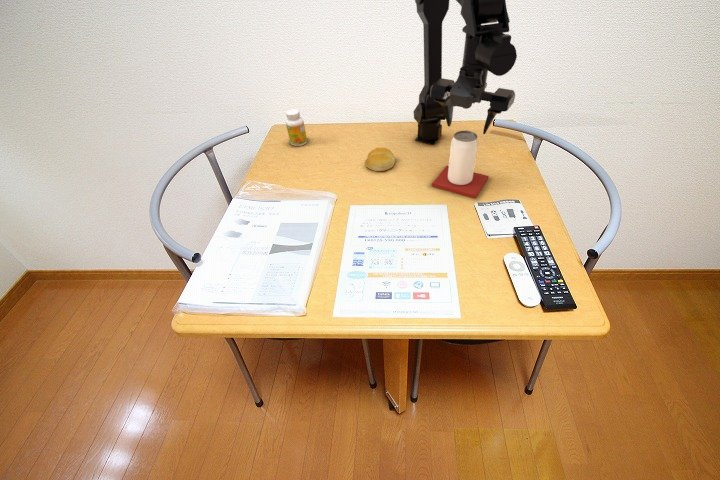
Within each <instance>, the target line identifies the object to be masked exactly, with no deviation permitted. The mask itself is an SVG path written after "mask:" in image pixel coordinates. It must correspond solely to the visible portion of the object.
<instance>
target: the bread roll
mask: <svg viewBox="0 0 720 480" xmlns="http://www.w3.org/2000/svg"><path fill="white" fill-rule="evenodd" d="M395 163H396V156H395V154H394V152H393V151H392V150H390V149H388V148H387V147H376V148H374V149H371V151H369V152H368V154H367V157H366V159H365V160H364V165H365V167H366V168H368V169H369V170H371V171H375V172H384V171H387V170H389V169H391V168H393V167H394V166H395Z"/></svg>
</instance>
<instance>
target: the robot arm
mask: <svg viewBox="0 0 720 480" xmlns="http://www.w3.org/2000/svg"><path fill="white" fill-rule="evenodd" d="M455 1H456V2H457V3H458V5H460V7H461V8H460V14H459V15H460V16H461V17H462V19H463V20H464V23H465V25H464V26H463V28H462V29H461V30H462V33H464V34H465V39H464V45H463V55H462V65H461V67H460V68H459V72H458V77H457V79H456V80H454V79H448V78H443V22H444V20H445V18H446V16H447V13H448V12H449V10H450V0H414V3H415V5H416V13H417V15H418V17H419V18H420V19H419V20H421V23H422V25H423V72H424V73H423V75H424V76H423V79H424V80H423V81H424V84H423V87H422V89H421V91H420V92H419V95H418V103H417V105H416V107H415V108H414V110H413V119H414V121H415V122H416V123H417V136H416V137H415V139H414V141H416V142H419V143H423V144H427V145H435V144H436V143H437V142H438V141H439V140H440V139H441V138H442V137H443V133H442V131H443V125H442V121H446V125H447V127H451V126H452V122H453V117H454V116H453V115H454V107H459V108H462V109H465V110H467V109H470V108H471V107H472V106H473V104H475V103H478V104H480V103H481V102H483V101H484V102H488V103H489V107H488V109H487V115H486V118H485V122H484V125H483V132H482V134H483V135H486V134H487V132H488V130H489V128H490V127H491V124H492V123H493V121H494V119H495V118H496V116H497V115H499V114H502V112H508V111H509V109H510V108H511V107H512V105H513V104H514V102H515V99H516V92H515V90H514V89H508V88H503V87H498V88H497V89H496V90H495V91H494V92H493V91H492V92H491V91H487V90H486V89H487V86H488V82H487V79H488V73H491V74H493V75H494V76H495V77H501V76H505V75H506V74H507V73H509V72H510V71H511V70H512V69H513V67H514V66H515V63H516V61H517V57H518V54H517V49H516V47H515V45H514V44H513V43H511V41H512V35H511V34H508V33H509V32H510V17H509V14H508V9H507V1H506V0H455Z"/></svg>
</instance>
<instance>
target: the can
mask: <svg viewBox="0 0 720 480" xmlns="http://www.w3.org/2000/svg"><path fill="white" fill-rule="evenodd" d="M478 147H479V141H478V134H477V133H476V132H473V131H471V130H458V131H456V132H455V133H453V137H452V139H451V142H450V150H449V161H448V166H449V168H448V180H449V181H450V182H451V183H452V184H455V185H466V184H469V183H470V182H471V181H472V179H473V173H474V172H475V166H476V161H477V160H476V159H477V154H478Z"/></svg>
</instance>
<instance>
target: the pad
mask: <svg viewBox="0 0 720 480" xmlns="http://www.w3.org/2000/svg"><path fill="white" fill-rule="evenodd" d="M448 168H449V165H446V166H445V167H444V169H443V170H441V172H440V173H439V174H438V176H437V177H436V178H435V179H434V180H433V181H432V183H431V187H432V188H435V189H439V190H443V191H446V192H451V193H454V194H457V195H460V196H464V197H468V198H472V199H476V198H477V196H478V195H479V194H480V192H481V191H482V189H483V188H484V186H485V184H487V182H488V180H489V175H486V174H482V173H479V172H475V171H474V173H473V179H472V181H471V182H470V183H469V184H466V185H455V184H452V183H451V182H450V181H449V180H448Z"/></svg>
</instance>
